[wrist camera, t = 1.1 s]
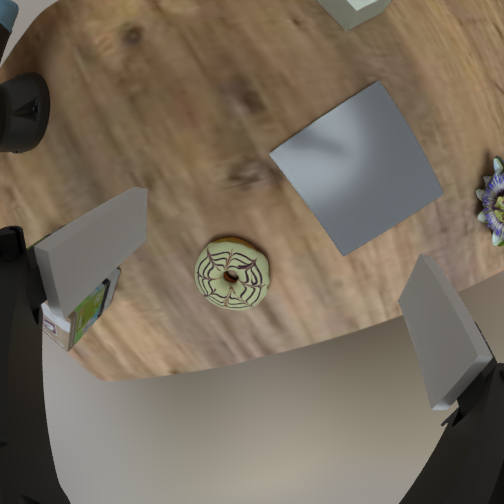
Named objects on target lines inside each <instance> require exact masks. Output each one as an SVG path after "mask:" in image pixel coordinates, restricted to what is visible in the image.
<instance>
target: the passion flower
mask: <svg viewBox="0 0 504 504" xmlns="http://www.w3.org/2000/svg"><path fill="white" fill-rule="evenodd" d="M493 163H494V170H495V173H494V175H493V176H490V175H484V176H483V178H484V182H485V187H484V188H478V189H476V190H475V192H476V195H477V197H478V198H479V199H480V200H481V201H482V202H483V205H482V206H484V209H483V211H480V213H479V214H478V220H480V221H481V222H483V223H487V224H488V225H487V226H488V228H489V227H490V228H491V229H492V230H493V233H491V234H492V244H493V245H494V246H496V245H498V246H499V247H500V246H504V162H503V160H502V158H500V157H499V156H495V158H494V160H493ZM487 226H486V227H487ZM486 227H485V228H486Z"/></svg>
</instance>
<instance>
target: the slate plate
mask: <svg viewBox="0 0 504 504" xmlns="http://www.w3.org/2000/svg"><path fill="white" fill-rule="evenodd" d="M269 155H270V156H271V158H272V159H273V160H274V161H275V163H276V164H277V165H278V167H279V168H280V169H281V171H282V172H283V173H284V174H285V176H286V177H287V178H288V180H289V181H290V182H291V184H292V185H293V186H294V188H295V189H296V190H297V192H298V193H299V194H300V196H301V197H302V199H303V200H304V201H305V203H306V204H307V205H308V207H309V208H310V210H311V211H312V212H313V214H314V215H315V217H316V218H317V219H318V221H319V222H320V224H321V225H322V226H323V228H324V229H325V231H326V232H327V234H328V235H329V237H330V238H331V239H332V241H333V242H334V244H335V245H336V247H337V248H338V250H339V251H340V253H341V254H342V256H345V255H347V254H348V253H350V252H352V251H353V250H355V249H357V248H358V247H360V246H362V245H363V244H365V243H367V242H368V241H370V240H372V239H373V238H375V237H377V236H378V235H380V234H382V233H383V232H385V231H386V230H388V229H390V228H391V227H393V226H394V225H396V224H398V223H399V222H401V221H402V220H404V219H406V218H407V217H409V216H410V215H412V214H413V213H415V212H417V211H418V210H420V209H421V208H423V207H424V206H426V205H427V204H429V203H430V202H432V201H434V200H435V199H437V198H438V197H440V196H441V195H443V194H444V193H443V191H442V189H441V187H440V184H439V182H438V180H437V178H436V176H435V174H434V172H433V170H432V168H431V166H430V164H429V162H428V160H427V158H426V156H425V154H424V152H423V150H422V148H421V146H420V145H419V143H418V141H417V139H416V137H415V136H414V134H413V132H412V130H411V129H410V127H409V125H408V124H407V122H406V120H405V119H404V117H403V115H402V114H401V112H400V111H399V109H398V108H397V106H396V104H395V103H394V101H393V100H392V98H391V97H390V95H389V94H388V92H387V91H386V90H385V88H384V87H383V85H382V84H381V82H380V81H376V82H375V83H373V84H372V85H370V86H368V87H367V88H365V89H363V90H362V91H360V92H359V93H357V94H355V95H354V96H352V97H351V98H349V99H348V100H346V101H345V102H343V103H341V104H340V105H338V106H337V107H335V108H334V109H332V110H331V111H329V112H328V113H326V114H325V115H323V116H322V117H320V118H319V119H317V120H316V121H314V122H313V123H311V124H310V125H308V126H307V127H306V128H304V129H303V130H301V131H300V132H298V133H297V134H296V135H294V136H293V137H291V138H290V139H288V140H287V141H286V142H284V143H283V144H281V145H280V146H279V147H277V148H276V149H275V150H273V151H272V152H270V153H269Z"/></svg>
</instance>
